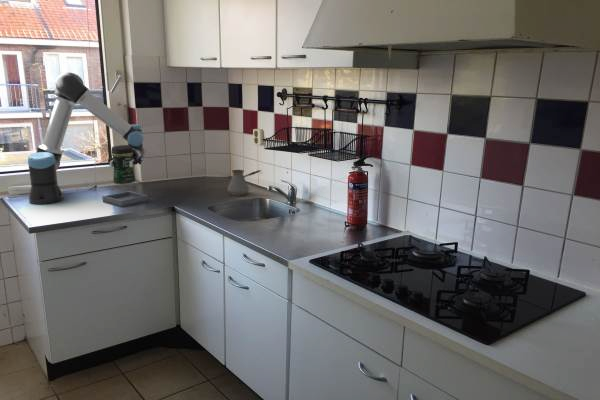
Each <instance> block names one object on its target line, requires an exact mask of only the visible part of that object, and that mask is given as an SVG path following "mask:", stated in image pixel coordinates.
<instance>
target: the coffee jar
mask: <svg viewBox="0 0 600 400" xmlns="http://www.w3.org/2000/svg"><path fill="white" fill-rule="evenodd" d="M132 155H133V151H132V147H131V146H129V145H128V144H121V145H114V146H112V147H111V156H112V158H113V160H114V166H113V183H114V184H116V185H126V184H127V185H128V184H131V183H134V182H135V181H136V180H135V179H136V178H135V172H134V166H132V167H130V163H129V162H130V161H131V160H132Z"/></svg>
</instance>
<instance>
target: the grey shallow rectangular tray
mask: <svg viewBox="0 0 600 400" xmlns="http://www.w3.org/2000/svg"><path fill="white" fill-rule="evenodd" d="M148 201H149V197H148V195H147V194H143V193H140V192H135V191H131V190H126V191H122V192H117V193H112V194H108V195H103V196H102V203H105V204H107V205H110V206H114V207H115V206H116V207H118V208H125V207H128V206H134V205H137V204H141V203H146V202H148Z"/></svg>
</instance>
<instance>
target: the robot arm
mask: <svg viewBox="0 0 600 400" xmlns="http://www.w3.org/2000/svg"><path fill="white" fill-rule="evenodd" d="M53 97H54V98H55V101H54V105H53V108H52V111H51V114H50V118H49V121H48V124H47V128H46V131H45V134H44V136H43V141H42V143H40V144H39V145H38V146H37V148H36V152H34V153H31V154H29V156H27V164H28V172H29V179H30V191H29V194H28V202H29V203H30V204H32V205H49V204H54V203H58V202H62V201H63V200H64V195H63V192H62V190H61V188H60V185H59V184H58V174H57V170H58V169H59V168H60V165H61V160H62V156H63V151H62V150H61V148H62V145H63V142H64V139H65V135H66V132H67V129H68V126H69V123H70V119H71V117H72V113H73V110H74V107H75V105H80V106H81V107H83V108H84V109H85V110H87V112H89V113H90V114H92V115H93V116H94V117H95V118H97V119H98V120H99V121H101V122H102V123H103V124H105V125H106V126H107V127H108V128H109V129H111V130H112V131H114V132H115V133H116V134H118V135H119V136H120V137H122V138H123V140H125V141H127V145H129V146H131V147H132V151H133V155H132V160H131V161H130V162H129V163H130V167H132V166H133V167H134V166H135V165H142V162H143V158H144V156H145V154H146V153H145V149H144V148H143V147H144V146H143V142H144V136H143V133H142V125H140V124H136V123H135V124H133V123H132V124H130V123H129V122H127V121H126V120H125V119H123V118H122V117H121V116H120V115H119V114H117V113H116V112H114V111H113V110H112V109H111V108H110V107H108V106H107V105H106V104H105V103H103V101H101V100H100V99H99V98H97V97H96V96H94V95H93V94H92V93H91V92H90V89H89V88H88V87H87V86H86V85H84V81H83V78H81V76H79V75H78V74H77V73H73V72H63V73H61V74H60V75H58V77H57V78H56V80H55V89H54V93H53ZM107 164H108V165H109V168H114V160H113V157H111V158H108V159H107Z"/></svg>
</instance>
